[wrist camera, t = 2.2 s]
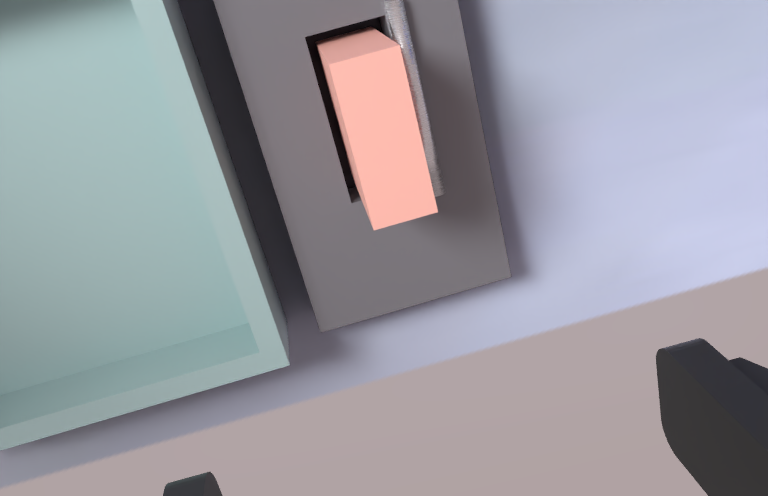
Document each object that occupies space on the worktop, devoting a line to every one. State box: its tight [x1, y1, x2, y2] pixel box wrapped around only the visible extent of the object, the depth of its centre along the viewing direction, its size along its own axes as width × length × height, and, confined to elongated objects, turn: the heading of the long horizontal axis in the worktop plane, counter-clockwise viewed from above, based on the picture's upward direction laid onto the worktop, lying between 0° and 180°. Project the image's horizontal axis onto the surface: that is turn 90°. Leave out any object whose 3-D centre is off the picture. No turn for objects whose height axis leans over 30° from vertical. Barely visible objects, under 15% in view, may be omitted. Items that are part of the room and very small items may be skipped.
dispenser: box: [213, 0, 511, 333], centre depth 30 cm, size 18×9×3 cm, turn 14°
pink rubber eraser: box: [315, 26, 438, 230], centre depth 28 cm, size 6×2×7 cm, turn 14°
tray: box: [0, 0, 290, 451], centre depth 29 cm, size 18×16×4 cm
